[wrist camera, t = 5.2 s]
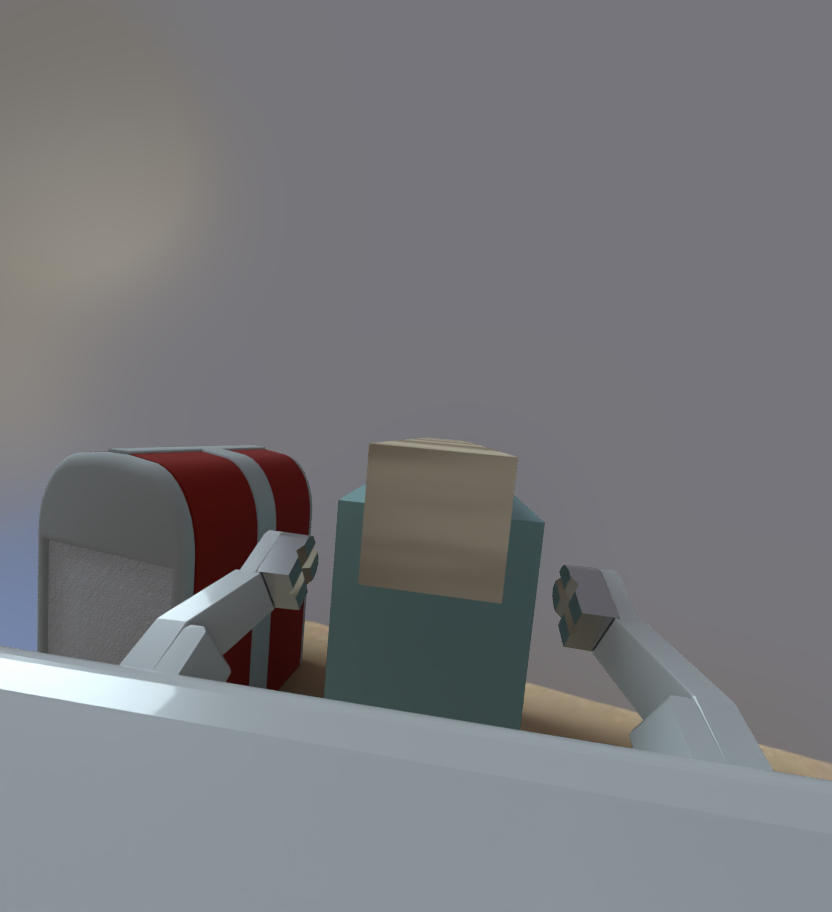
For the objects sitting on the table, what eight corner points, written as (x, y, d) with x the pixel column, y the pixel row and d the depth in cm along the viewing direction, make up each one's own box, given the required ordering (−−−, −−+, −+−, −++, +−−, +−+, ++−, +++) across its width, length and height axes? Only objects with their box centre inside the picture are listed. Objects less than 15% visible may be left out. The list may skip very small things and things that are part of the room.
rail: (422, 477, 33) (426, 437, 33) (462, 481, 33) (466, 441, 32) (357, 584, 9) (369, 443, 9) (501, 603, 9) (518, 457, 9)
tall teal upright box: (366, 676, 40) (383, 467, 39) (481, 694, 39) (504, 479, 37) (287, 909, 21) (315, 501, 19) (515, 962, 19) (569, 529, 17)
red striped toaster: (306, 659, 42) (320, 452, 40) (176, 808, 25) (190, 461, 23) (202, 630, 46) (211, 439, 44) (29, 741, 29) (31, 439, 27)
